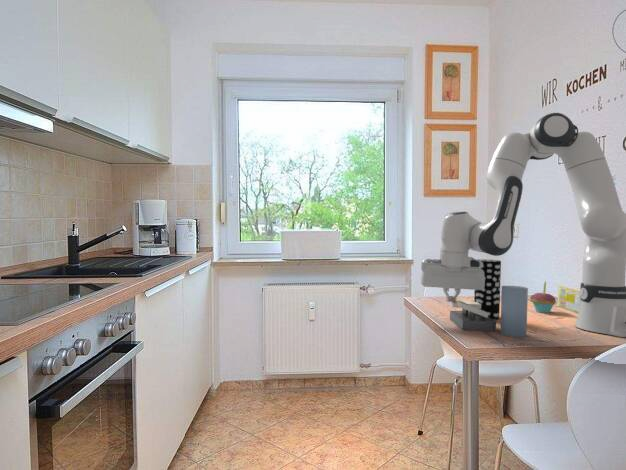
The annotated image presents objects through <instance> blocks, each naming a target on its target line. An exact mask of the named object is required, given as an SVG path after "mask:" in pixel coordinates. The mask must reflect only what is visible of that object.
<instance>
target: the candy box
mask: <svg viewBox="0 0 626 470" xmlns="http://www.w3.org/2000/svg"><path fill="white" fill-rule="evenodd" d="M557 289H558V290H557V301H556V302H557V303H556V304H557V305H556V306H557V307H559V308H562V309H563V310H564V309H565V310H568V311H571V312H573V313H576V314H579V309H580V304H581V299H580V290H578V289H573V288H569V287H565V286H558V288H557Z"/></svg>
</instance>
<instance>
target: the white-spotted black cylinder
mask: <svg viewBox="0 0 626 470" xmlns="http://www.w3.org/2000/svg"><path fill="white" fill-rule="evenodd" d="M477 260H479V261H481V262H483V267H482V268H481V269H482V270H483V271H484V276H485V287H484V288H483V289H482V290H473V291H474V292H473V293H474V294H473V302H478V303H479V304H481V309H480V310H483V311H485V312H487V313H489V315H488V317H490V318H491V319H493V320H495V321H496V320H499V319H500V313H501V277H502V276H501V275H502V274H501V273H502V272H501V271H502V268H501V267H502V261H501V260H497V259H486V258H485V259H483V258H482V259H477Z"/></svg>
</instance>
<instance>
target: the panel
mask: <svg viewBox="0 0 626 470" xmlns="http://www.w3.org/2000/svg"><path fill="white" fill-rule="evenodd" d="M449 320H450V321H451V322H453V324H455V325H456V326H457V327H458V328H460V330H462V331H482V332H483V331H485V332H486V331H487V332H496V331H497V321H496V320H493V319H491V318H490V317H487V318H486V317H484V316H481V315H479V314H476V313H473V312H471V311H468V310H466V309H463V308H461V310H449Z"/></svg>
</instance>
